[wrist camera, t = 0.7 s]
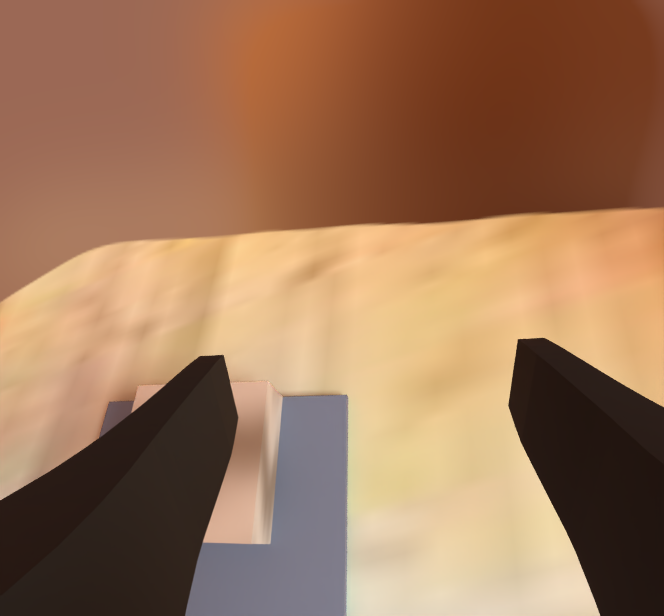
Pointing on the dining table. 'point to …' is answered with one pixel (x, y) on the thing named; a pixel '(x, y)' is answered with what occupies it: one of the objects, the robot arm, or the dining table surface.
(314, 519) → the board
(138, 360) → the dining table surface
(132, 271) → the dining table surface
